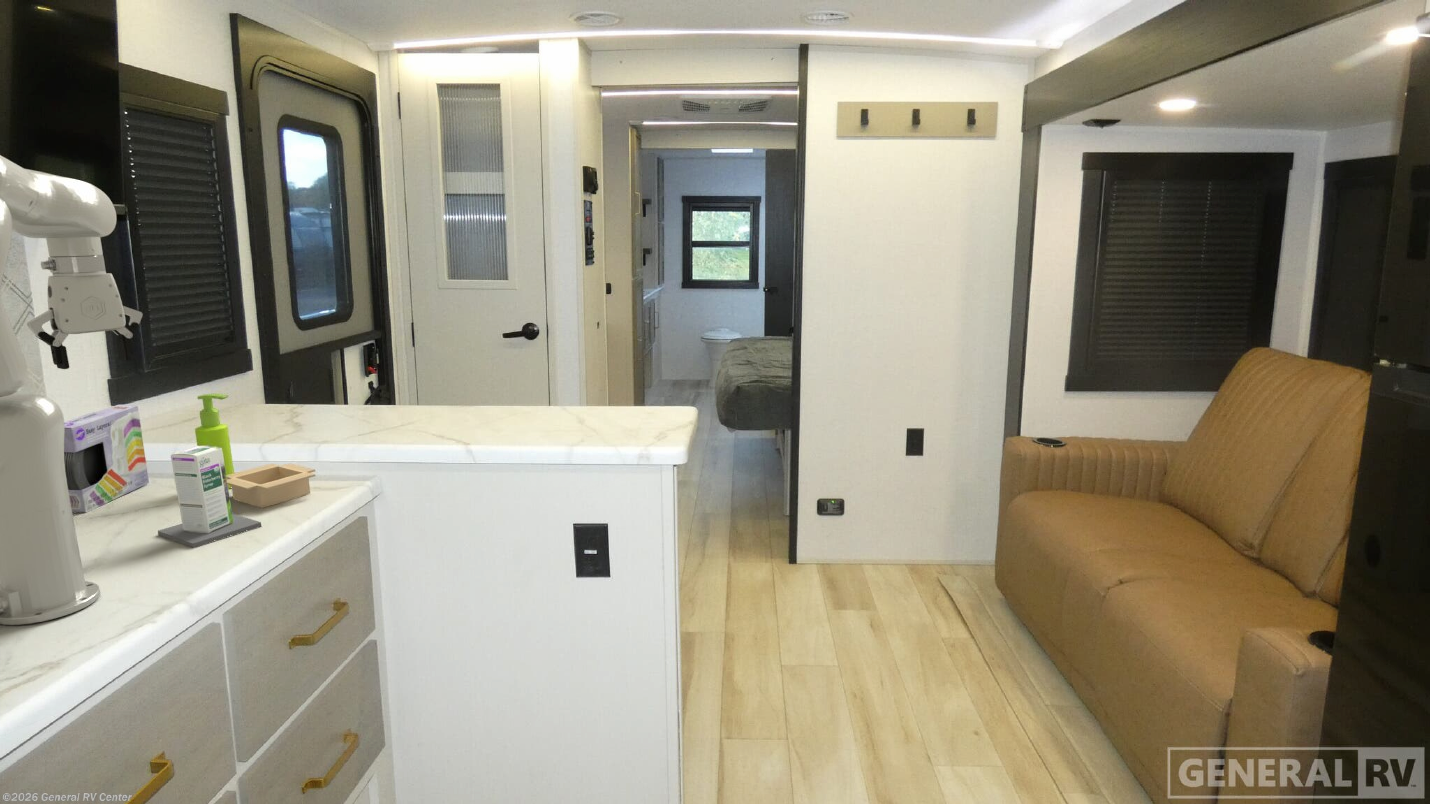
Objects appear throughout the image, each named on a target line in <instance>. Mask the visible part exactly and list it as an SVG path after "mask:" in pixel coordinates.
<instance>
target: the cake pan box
mask: <svg viewBox="0 0 1430 804" xmlns="http://www.w3.org/2000/svg"><path fill="white" fill-rule="evenodd" d="M143 440H144V439H143V433H142V426H141V419H140V412H139V405H134V404H115V405H114V406H111V407H108V408H104V409H102V410H98V411H93V412H90V413H87V414H83V415H80V416H78V417H75V418H73V419H70V420H67V421H64V464H65V473H66V479H67V486H68V491H69V497H70V503H71V508H72V514H75V513H76V514H82V513H83V514H86V513H88V512H91V511H93V510H95V509H97V508H99V507H102V506H103V505H106V504H108V503H110V502H112V501H114V500H117V499H118V498H120V497H122V496H125V495H126V494H129V493H130V492H133V491H134V490H137V489H139V488H141V487H143V486H145V485H147V484H149V483H150V480H149V475H148V474H149V473H148V467H147V458H146V453H145V446H144V441H143Z"/></svg>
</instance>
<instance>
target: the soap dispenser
mask: <svg viewBox="0 0 1430 804" xmlns="http://www.w3.org/2000/svg"><path fill="white" fill-rule="evenodd" d="M228 397H229V395H226V394H222V393H206V394H201V395H198V396H197V400H202V406H203V409H201V410H200V411H199V416H200V425H201V426H197V427H196V428H194V432H195V439H196V446H215V447H220V448H222V452H223V459H224V465H225V471H226V475H230V474H234V473H235V472H234V471H235V469H234V462H233V455H232V448H231V441H230V435H229V426H228V425H227V424H225V423H221V420H220V418H221V417H220V413H219V409H218V408H216V407H214V403H213V402H214V401H213V399H216V400H225V399H227V398H228ZM227 480H228V479H227ZM231 487H232V486H231V485H228V490H230V489H229V488H231ZM231 489H232V488H231Z"/></svg>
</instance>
